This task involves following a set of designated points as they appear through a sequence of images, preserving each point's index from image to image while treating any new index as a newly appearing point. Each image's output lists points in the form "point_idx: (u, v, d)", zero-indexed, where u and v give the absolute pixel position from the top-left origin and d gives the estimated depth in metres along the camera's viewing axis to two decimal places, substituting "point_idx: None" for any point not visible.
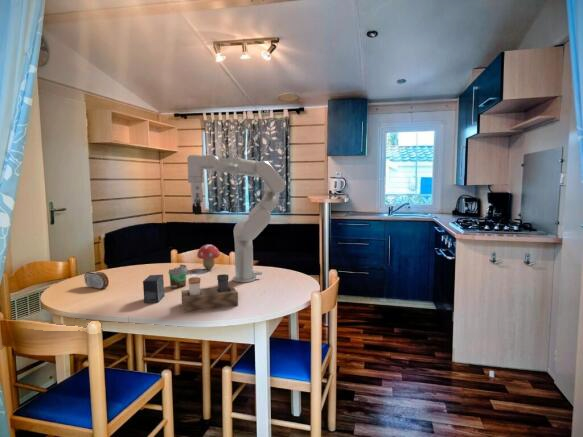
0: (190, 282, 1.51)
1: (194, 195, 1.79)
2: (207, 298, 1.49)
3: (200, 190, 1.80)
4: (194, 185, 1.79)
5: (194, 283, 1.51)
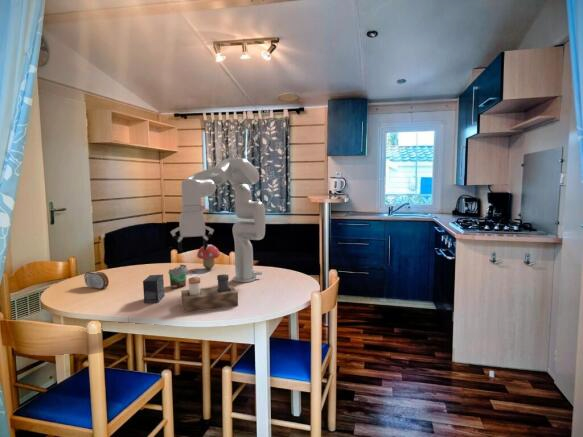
0: (190, 282, 1.51)
1: (204, 227, 1.51)
2: (207, 298, 1.49)
3: None
4: (203, 215, 1.51)
5: (194, 283, 1.51)
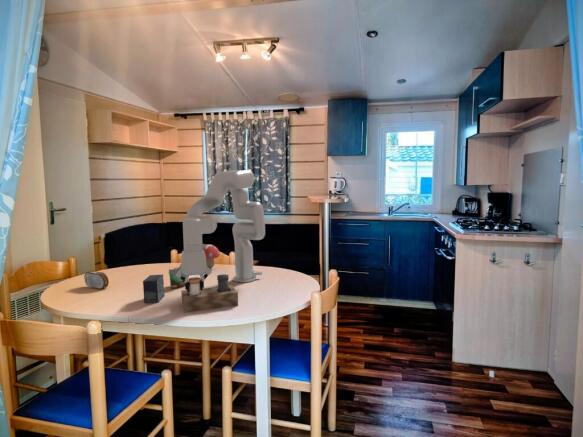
0: (190, 282, 1.51)
1: None
2: (207, 298, 1.49)
3: None
4: (204, 253, 1.52)
5: (194, 283, 1.51)
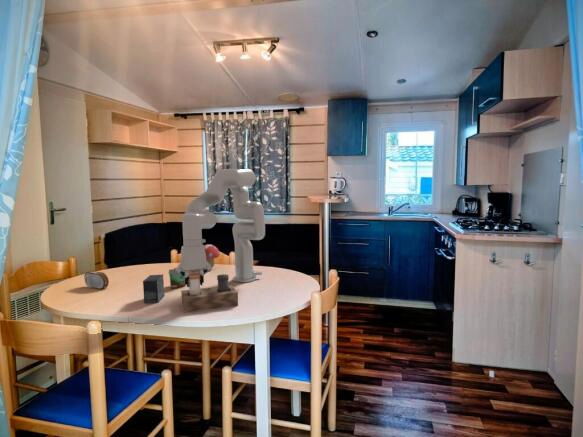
0: (190, 277, 1.50)
1: (205, 260, 1.52)
2: (207, 298, 1.49)
3: None
4: (204, 249, 1.52)
5: (194, 278, 1.50)
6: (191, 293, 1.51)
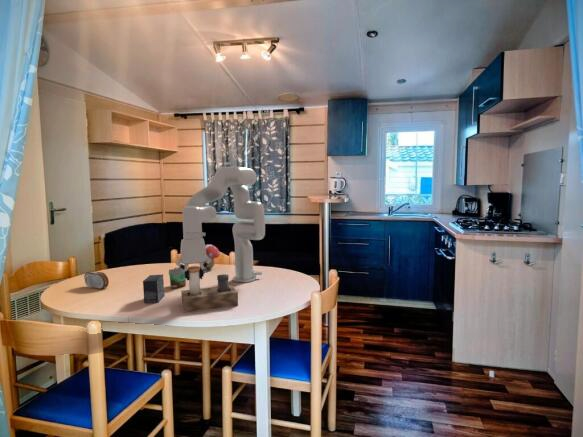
0: (190, 271, 1.50)
1: (205, 253, 1.52)
2: (207, 298, 1.49)
3: None
4: (204, 242, 1.52)
5: (194, 272, 1.50)
6: (191, 286, 1.51)
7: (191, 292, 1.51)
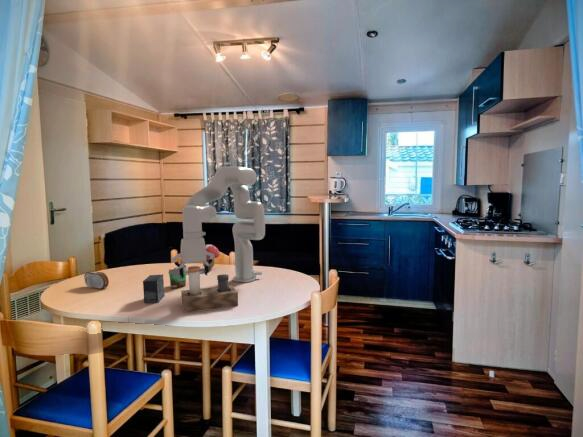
0: (190, 271, 1.50)
1: (205, 253, 1.52)
2: (207, 298, 1.49)
3: None
4: (204, 241, 1.52)
5: (194, 272, 1.50)
6: (191, 286, 1.51)
7: (191, 292, 1.51)
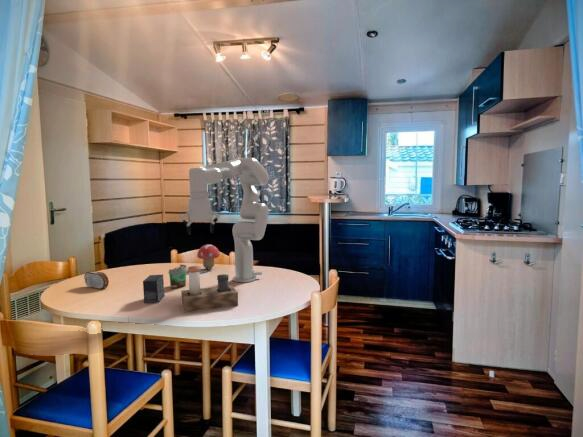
0: (190, 271, 1.50)
1: (211, 212, 1.63)
2: (207, 298, 1.49)
3: None
4: (209, 201, 1.62)
5: (194, 272, 1.50)
6: (191, 286, 1.51)
7: (191, 292, 1.51)
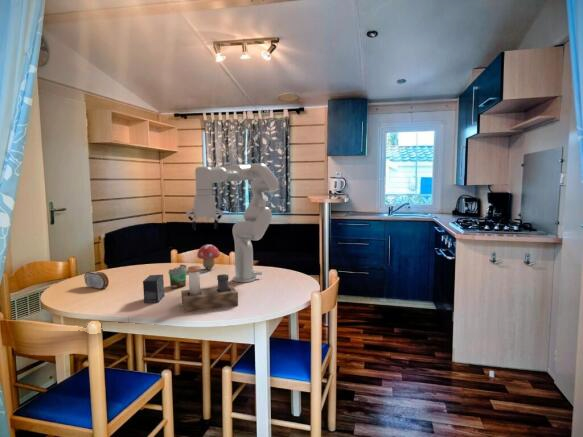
0: (190, 271, 1.50)
1: (215, 209, 1.72)
2: (207, 298, 1.49)
3: None
4: (214, 199, 1.71)
5: (194, 272, 1.50)
6: (191, 286, 1.51)
7: (191, 292, 1.51)
